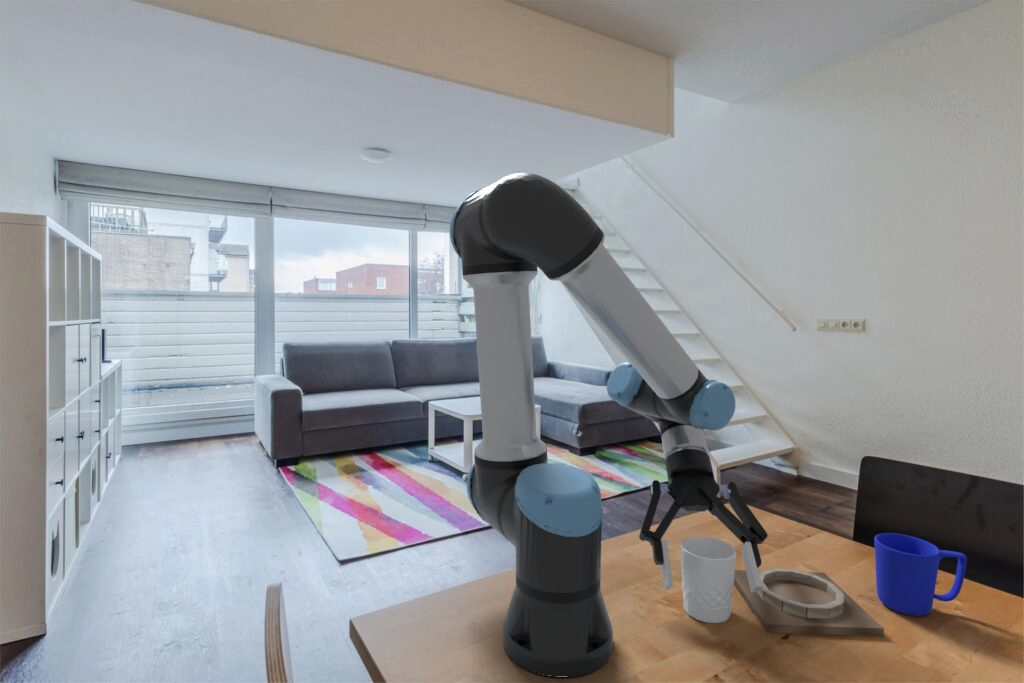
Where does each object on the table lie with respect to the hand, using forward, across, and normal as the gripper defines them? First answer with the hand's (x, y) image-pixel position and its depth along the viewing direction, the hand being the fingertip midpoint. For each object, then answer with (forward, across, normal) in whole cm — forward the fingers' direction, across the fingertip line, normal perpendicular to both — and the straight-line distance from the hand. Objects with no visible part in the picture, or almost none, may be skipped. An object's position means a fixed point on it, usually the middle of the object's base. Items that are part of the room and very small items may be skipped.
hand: (712, 588), depth 78 cm
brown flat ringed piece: (0, -15, -7) cm, 17 cm away
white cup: (+2, 0, -5) cm, 6 cm away
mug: (0, -33, -8) cm, 34 cm away
